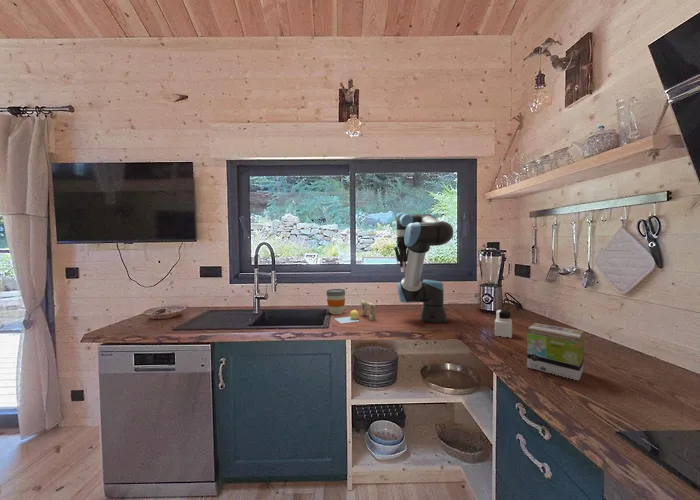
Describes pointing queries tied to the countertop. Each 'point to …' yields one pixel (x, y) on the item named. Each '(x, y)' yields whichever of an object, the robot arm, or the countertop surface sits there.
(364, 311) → the bridge
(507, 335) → the medicine bottle
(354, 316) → the ball
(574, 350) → the tea box
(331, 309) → the reusable coffee cup
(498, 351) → the countertop surface
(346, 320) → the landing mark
